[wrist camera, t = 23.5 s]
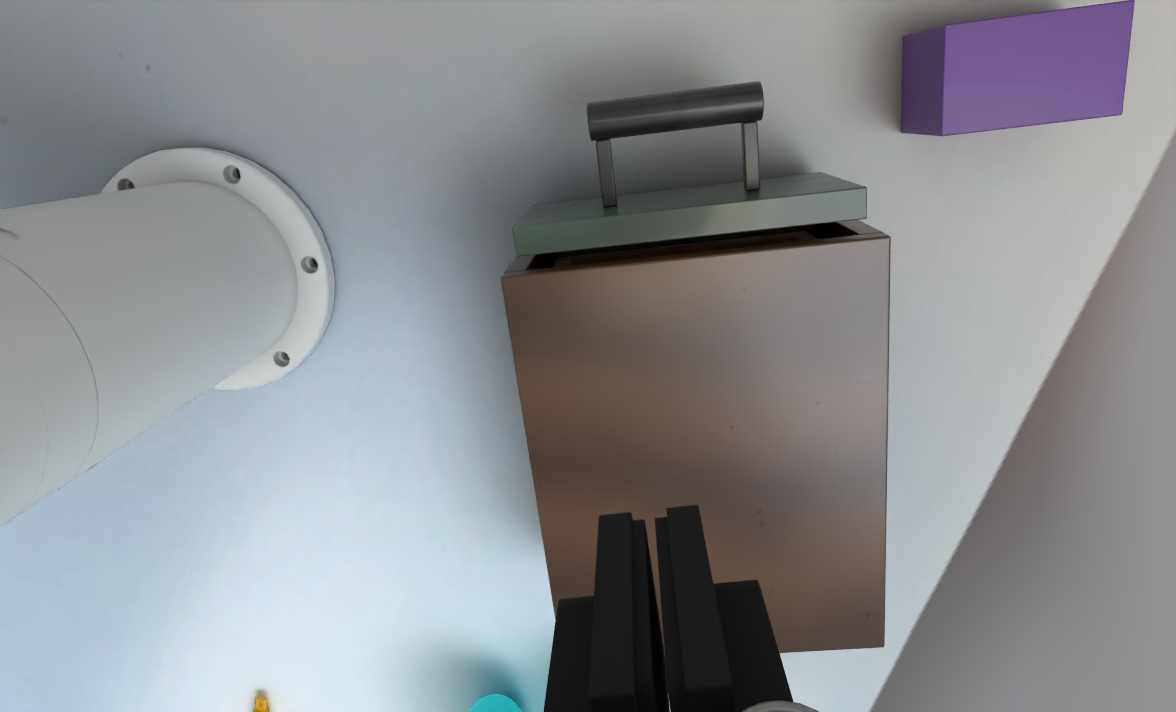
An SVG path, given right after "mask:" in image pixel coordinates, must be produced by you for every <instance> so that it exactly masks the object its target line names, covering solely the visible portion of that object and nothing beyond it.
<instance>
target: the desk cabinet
mask: <svg viewBox="0 0 1176 712" xmlns="http://www.w3.org/2000/svg"><path fill="white" fill-rule="evenodd" d="M801 231H807V232H808V233H809V234H811V235H813V236H814V237H816V238H817V239H816V240H807V241H797V242H788V243H779V244H769V245H760V246H750V247H741V248H732V249H722V250H713V251H704V252H694V253H685V254H675V255H666V256H657V257H647V258H638V259H628V260H619V261H610V262H600V263H591V264H581V265H572V266H563V267H553V266H554V264H555V262H556V260H557V258H559V257H569V256H578V255H587V254H597V253H606V252H615V251H624V250H634V249H643V248H652V247H662V246H671V245H680V244H689V243H699V242H708V241H717V240H726V239H736V238H745V237H754V236H764V235H773V234H782V233H791V232H801ZM890 244H891V238H890V236H889V235H886V234H884V233H883V232H881V231H879V230H877V229H875V228H873V227H871V226H869V225H867V224H865V223H863V222H861V221H859V220H850V221H841V222H832V223H822V224H813V225H804V226H795V227H785V228H776V229H767V230H758V231H749V232H739V233H730V234H721V235H712V236H702V237H693V238H684V239H675V240H666V241H656V242H647V243H638V244H629V245H619V246H610V247H601V248H592V249H583V250H573V251H564V252H555V253H546V254H536V255H527V256H517V257H516V258H515V259H514V261H513V262H512V263H511V265H510V266H509V267H508V268H507V270H506V271H505V272H504V274H503V276H502V277H501V283H502V290H503V296H504V302H505V308H506V314H507V321H508V327H509V333H510V339H511V346H512V352H513V358H514V364H515V371H516V377H517V383H518V389H519V395H520V402H521V408H522V414H523V420H524V427H525V433H526V439H527V445H528V451H529V458H530V464H531V470H532V476H533V483H534V489H535V495H536V501H537V507H538V514H539V520H540V526H541V532H542V539H543V545H544V551H545V557H546V563H547V570H548V576H549V582H550V588H551V595H552V601H553V607H554V613H555V619H556V615H557V608H558V603H559V600H560V599H564V598H574V597H584V596H594V586H595V570H596V553H597V537H598V521H599V516H600V515H607V514H616V513H625V512H631V513H632V518H633V520H641V519H645V524H646V530H647V537H648V544H649V551H650V557H651V564H652V571H653V578H654V584H655V591H656V598H657V605H658V612H659V618H660V625H661V632H662V639H663V645H664V636H663V622H662V609H661V596H660V583H659V570H658V557H657V543H656V530H655V518H659V517H667V511H666V508H670V507H679V506H689V505H698V506H699V511H700V516H701V521H702V527H703V532H704V537H705V543H706V548H707V553H708V558H709V564H710V569H711V574H712V579H713V584H715V583H725V582H735V581H745V580H755V579H757V580H758V582H759V585H760V588H761V591H762V594H763V598H764V601H765V605H766V608H767V612H768V615H769V619H770V622H771V626H772V629H773V633H774V636H775V640H776V643H777V647H778V650H779V653H786V652H804V651H823V650H841V649H859V648H877V647H884V635H885V570H886V505H887V440H888V374H889V309H890ZM664 653H665V649H664Z"/></svg>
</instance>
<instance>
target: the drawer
mask: <svg viewBox="0 0 1176 712" xmlns="http://www.w3.org/2000/svg"><path fill="white" fill-rule="evenodd" d="M763 110H764V99H763V89H762V85H761V83H760V82H759V81H757V82H749V83H742V84H734V85H726V86H718V87H710V88H702V89H694V90H687V91H679V92H671V93H663V94H655V95H647V96H639V97H632V98H624V99H616V100H608V101H600V102H592V103H587V117H588V126H589V133H590V139H591V141H596V140H597V141H596V148H597V158H598V167H599V176H600V185H601V194H602V197H600V198H591V199H582V200H574V201H565V202H556V203H548V204H539V205H534V206H533V207H532V208H531V209H530V210H529V211H528V212H527V213H526V214H525V215H524V216H523V217H522V218H521V219H520V220H519V221H518V222H517V223H516V224H515V225H514V226H513V235H514V241H515V248H516V254H517V256H527V255H536V254H546V253H555V252H564V251H573V250H583V249H592V248H601V247H610V246H619V245H629V244H638V243H647V242H656V241H666V240H675V239H684V238H693V237H702V236H712V235H721V234H730V233H739V232H749V231H758V230H767V229H776V228H785V227H795V226H804V225H813V224H822V223H832V222H841V221H850V220H859V219H866V218H867V188H866V187H864V186H861V185H858V184H855V183H852V182H849V181H846V180H843V179H840V178H837V177H834V176H831V175H827V174H824V173H821V172H817V173H809V174H800V175H791V176H783V177H774V178H765V179H760V173H759V149H758V125H757V121H760V120H762V117H763ZM735 123H741V138H742V159H743V179H744V181H739V182H730V183H722V184H713V185H704V186H696V187H687V188H678V189H669V190H661V191H652V192H643V193H635V194H626V195H617V196H616V188H615V178H614V169H613V159H612V149H611V140H610V139H612V138H620V137H629V136H637V135H645V134H653V133H661V132H670V131H678V130H686V129H694V128H702V127H710V126H719V125H727V124H735ZM816 239H817V238H816V237H814V236H813V235H811V234H809V233H808V232H807V231H801V232H791V233H782V234H773V235H764V236H754V237H745V238H736V239H726V240H717V241H708V242H699V243H689V244H680V245H671V246H662V247H652V248H643V249H634V250H624V251H615V252H606V253H597V254H587V255H578V256H569V257H559V258H557V260H556V262H555V264H554V266H553V267H563V266H572V265H581V264H591V263H600V262H610V261H619V260H628V259H638V258H647V257H657V256H666V255H675V254H685V253H694V252H704V251H713V250H722V249H732V248H741V247H750V246H760V245H769V244H779V243H788V242H797V241H807V240H816Z"/></svg>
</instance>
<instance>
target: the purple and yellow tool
mask: <svg viewBox="0 0 1176 712" xmlns="http://www.w3.org/2000/svg"><path fill="white" fill-rule="evenodd" d="M266 704H267V699H265V698H263V697H260V696H257V697H256V701H255V708H254V709H253V712H269V707H268V706H267V705H266Z"/></svg>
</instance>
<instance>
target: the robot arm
mask: <svg viewBox="0 0 1176 712" xmlns="http://www.w3.org/2000/svg"><path fill="white" fill-rule="evenodd" d="M237 170H239V172H240V174H241V178H240V177H239V176H238V174H237ZM134 186H135V187H134ZM313 258H314V259H316V261H317V263H318V266H316V265H315V264H314V263H313ZM334 299H335V276H334V271H333V266H332V260H331V255H330V252H329V249H328V247H327V244H326V241H325V239H324V236H323V233H322V231H321V229H320V228H319V226H318V224H317V223H316V221H315V219H314V217H313V216H312V214H311V212H310V211H309V209H308V208H307V207H306V206H305V205H304V203H303V202H302V201H301V200H300V199H299V197H298V196H297V195H296V194H295V193H294V191H293V190H292V189H290V188H289V187H288V186H287V185H286V184H285V183H283V182H282V181H281V180H280V179H279V178H278V177H276V176H275V175H274V174H273V173H271V172H269V171H268V170H266V169H264V168H263V167H261V166H259V165H258V164H256V163H254V162H253V161H251V160H248V159H246V158H243V157H240V156H238V155H235V154H232V153H230V152H227V151H221V150H216V149H210V148H204V147H196V148H176V149H168V150H161V151H157V152H154V153H151V154H149V155H146V156H143V157H140V158H138V159H136V160H135V161H133V162H132V163H130V164H129V165H127V166H125V167H124V168H122V169H121V170H119V171H118V173H117V174H116V175H115V176H114V177H113V178H112V179H111V180H110V181H109V182H108V183H107V184H106V185H105V187H104V188H103V190H102V192H101V194H96V195H90V196H84V197H77V198H71V199H65V200H58V201H52V202H46V203H39V204H33V205H27V206H20V207H14V208H8V209H1V210H0V528H1V527H3V526H4V525H5V524H7V523H9V522H10V521H11V520H13V519H14V518H16V517H17V516H19V515H20V514H22V513H23V512H25V511H26V510H28V509H29V508H31V507H32V506H34V505H35V504H37V503H38V502H40V501H41V500H43V499H44V498H46V497H47V496H49V495H50V494H52V493H53V492H55V491H56V490H58V489H60V488H62V487H63V486H65V485H66V484H68V483H69V482H71V481H72V480H74V479H75V478H77V477H78V476H80V475H81V474H83V473H84V472H86V471H87V470H89V469H90V468H92V467H93V466H95V465H96V464H98V463H99V462H101V461H102V460H104V459H106V458H107V457H109V456H110V455H112V454H113V453H115V452H116V451H118V450H119V449H121V448H122V447H124V446H125V445H127V444H128V443H130V442H131V441H133V440H134V439H136V438H137V437H139V436H140V435H142V434H143V433H145V432H146V431H148V430H149V429H151V428H152V427H154V426H155V425H157V424H158V423H160V422H161V421H163V420H164V419H166V418H167V417H169V416H170V415H172V414H173V413H175V412H176V411H178V410H179V409H181V408H182V407H184V406H185V405H187V404H188V403H190V402H191V401H193V400H194V399H196V398H197V397H199V396H200V395H202V394H203V393H205V392H207V391H208V390H210V389H217V390H243V389H248V388H254V387H259V386H263V385H265V384H267V383H270V382H272V381H275V380H277V379H279V378H281V377H283V376H284V375H286V374H287V373H289V372H290V371H291V370H293V369H294V368H296V367H297V366H298V365H299V364H300V363H302V362H303V361H304V360H305V359H306V358H307V357H308V356H309V355H310V354H311V353H312V352H313V350H314V349H315V348H316V346H317V345H318V344H319V342H320V341H321V339H322V338H323V335H324V333H325V331H326V329H327V326H328V324H329V322H330V319H331V314H332V309H333V304H334ZM285 353H286V354H288V356H289V357H287V356H286V354H285ZM666 511H667V517H659V518H655V530H656V543H657V557H658V570H659V583H660V596H661V609H662V622H663V636H664V645H663V639H662V632H661V625H660V618H659V612H658V605H657V598H656V591H655V584H654V578H653V571H652V564H651V557H650V551H649V544H648V537H647V530H646V524H645V519H641V520H633V518H632V513H631V512H625V513H616V514H607V515H600V516H599V521H598V537H597V553H596V570H595V586H594V596H584V597H574V598H564V599H560V600H559V603H558V608H557V615H556V622H555V630H554V637H553V645H552V652H551V660H550V668H549V675H548V683H547V690H546V698H545V705H544V712H670V710H671V712H818V711H817V710H815V709H812V708H810V707H807V706H805V705H803V704H800V703H795V702H793V699H792V696H791V692H790V689H789V685H788V682H787V678H786V675H785V671H784V668H783V664H782V661H781V657H780V654H779V650H778V647H777V643H776V640H775V636H774V633H773V629H772V626H771V622H770V619H769V615H768V612H767V608H766V605H765V601H764V598H763V594H762V591H761V588H760V585H759V582H758V580H757V579H755V580H745V581H735V582H725V583H715V584H713V579H712V574H711V569H710V564H709V558H708V553H707V548H706V543H705V537H704V532H703V527H702V521H701V516H700V511H699V506H698V505H689V506H679V507H670V508H666ZM664 649H665V653H664ZM668 694H669V697H668ZM669 702H670V710H669Z"/></svg>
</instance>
